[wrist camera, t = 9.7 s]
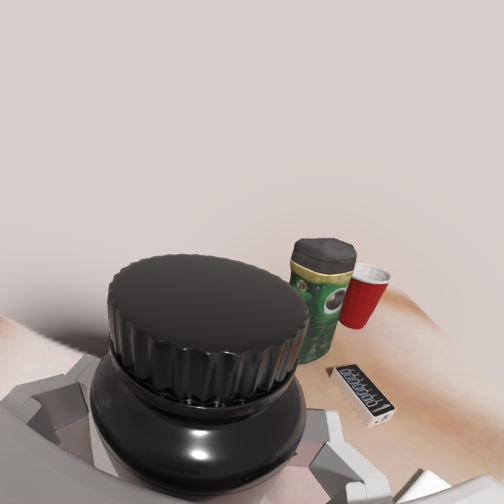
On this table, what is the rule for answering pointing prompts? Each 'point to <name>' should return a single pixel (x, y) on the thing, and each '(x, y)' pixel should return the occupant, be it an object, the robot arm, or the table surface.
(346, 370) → the multiport hub
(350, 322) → the plastic cup
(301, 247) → the coffee jar
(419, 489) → the external hard drive
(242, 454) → the supplement bottle
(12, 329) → the table surface
